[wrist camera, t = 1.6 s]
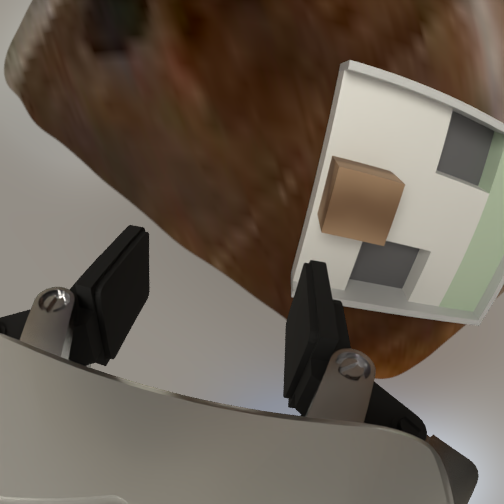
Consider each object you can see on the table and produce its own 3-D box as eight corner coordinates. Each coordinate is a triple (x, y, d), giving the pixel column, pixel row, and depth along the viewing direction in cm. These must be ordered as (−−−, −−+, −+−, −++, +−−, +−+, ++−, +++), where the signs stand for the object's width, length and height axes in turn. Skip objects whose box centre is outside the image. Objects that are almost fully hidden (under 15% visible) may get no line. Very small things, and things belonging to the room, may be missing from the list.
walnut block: (332, 155, 23) (339, 166, 20) (390, 171, 23) (405, 184, 20) (317, 214, 26) (321, 232, 23) (373, 226, 26) (383, 246, 23)
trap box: (340, 63, 22) (350, 60, 18) (531, 145, 22) (554, 156, 18) (290, 272, 32) (291, 296, 28) (466, 304, 32) (479, 325, 28)
